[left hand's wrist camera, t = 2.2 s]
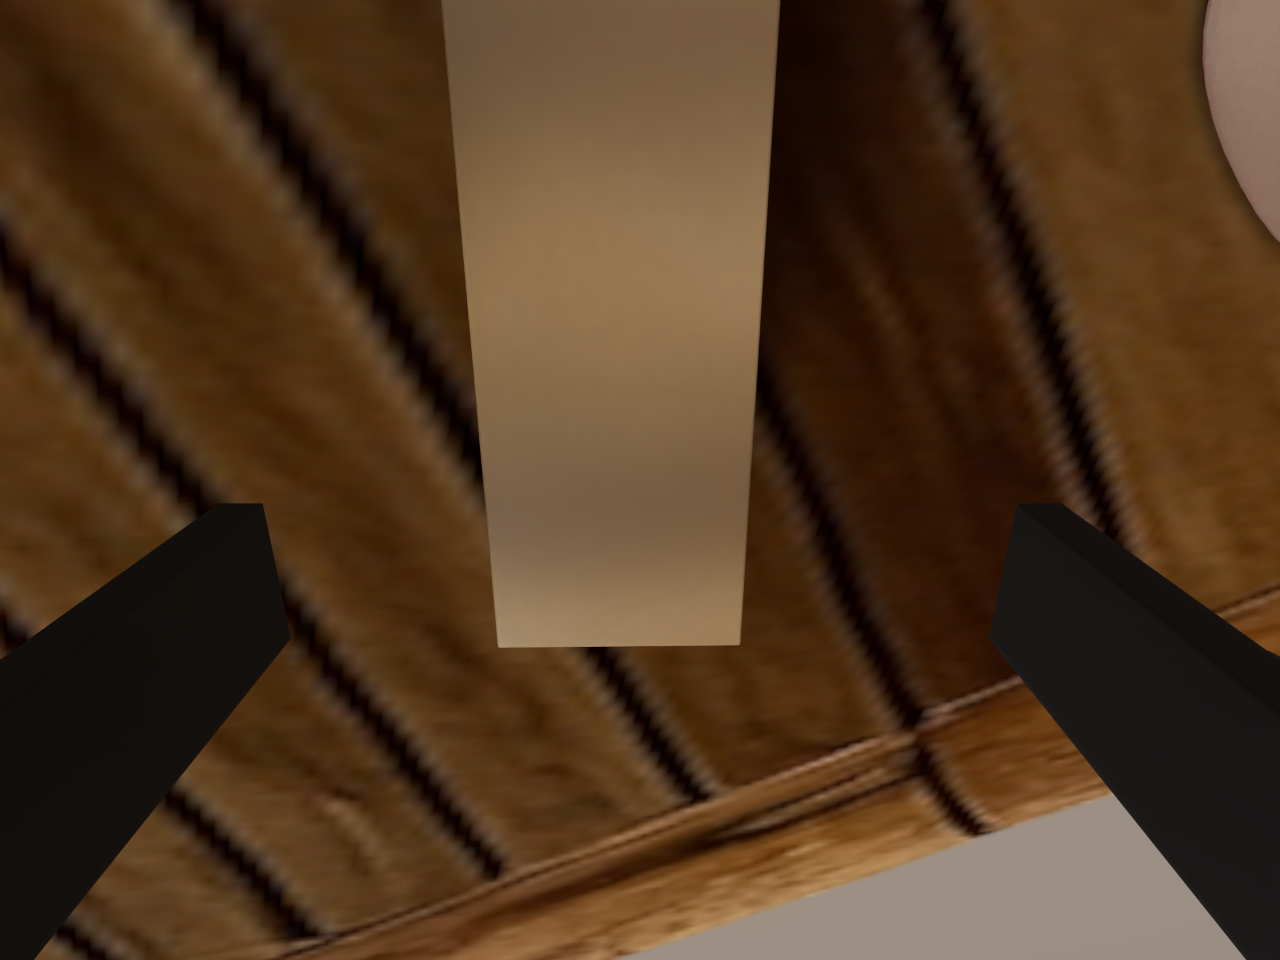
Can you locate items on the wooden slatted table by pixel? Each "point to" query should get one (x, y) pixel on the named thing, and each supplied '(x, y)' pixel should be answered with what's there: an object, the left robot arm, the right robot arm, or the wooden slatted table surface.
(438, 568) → the wooden slatted table surface
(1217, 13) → the anatomical model
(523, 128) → the bar
